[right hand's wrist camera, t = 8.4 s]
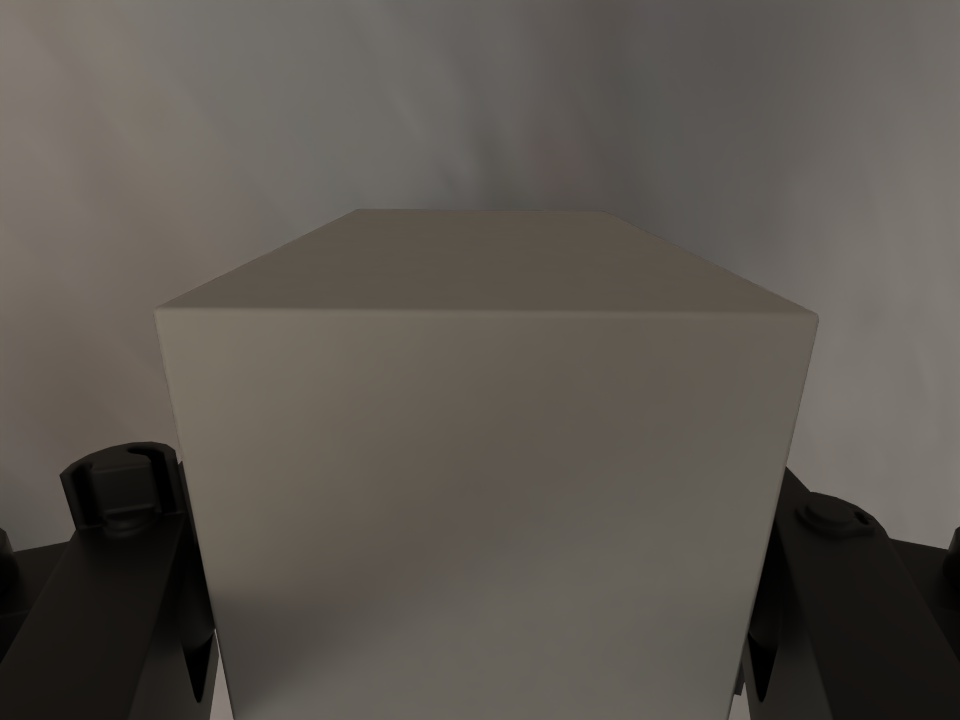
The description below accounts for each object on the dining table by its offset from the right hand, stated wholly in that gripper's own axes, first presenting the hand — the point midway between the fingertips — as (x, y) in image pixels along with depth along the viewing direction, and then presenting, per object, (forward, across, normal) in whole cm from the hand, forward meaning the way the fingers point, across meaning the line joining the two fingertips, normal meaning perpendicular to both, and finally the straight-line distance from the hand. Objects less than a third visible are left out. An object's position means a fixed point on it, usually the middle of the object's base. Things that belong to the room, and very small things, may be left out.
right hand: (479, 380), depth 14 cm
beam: (0, 0, -23) cm, 23 cm away
